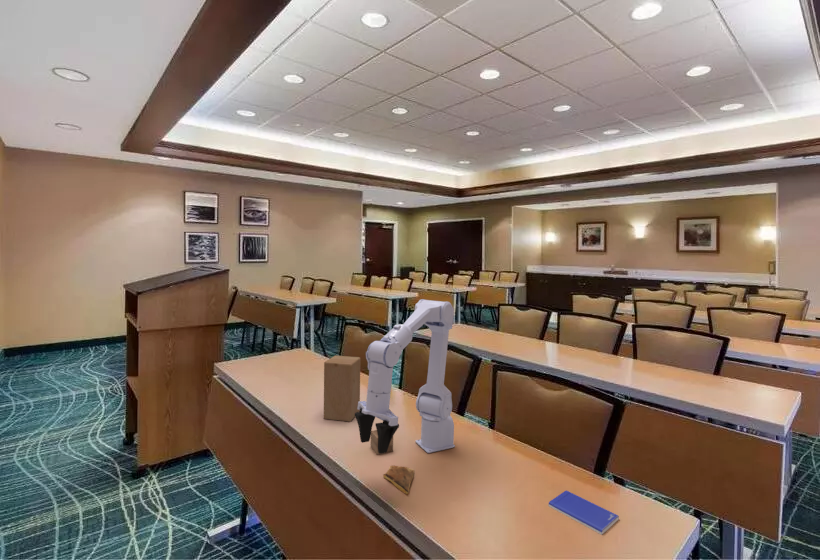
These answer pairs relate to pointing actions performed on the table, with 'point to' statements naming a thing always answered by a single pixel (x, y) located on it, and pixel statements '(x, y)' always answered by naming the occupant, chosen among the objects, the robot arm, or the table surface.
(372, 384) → the robot arm
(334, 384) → the wooden block
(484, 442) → the table surface
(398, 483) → the shard
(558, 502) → the hard drive
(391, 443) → the walnut cube
